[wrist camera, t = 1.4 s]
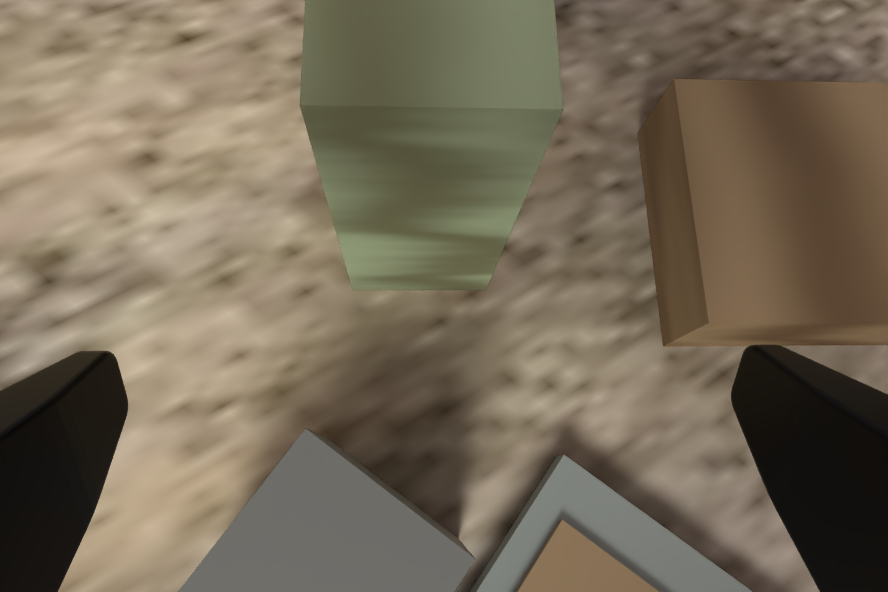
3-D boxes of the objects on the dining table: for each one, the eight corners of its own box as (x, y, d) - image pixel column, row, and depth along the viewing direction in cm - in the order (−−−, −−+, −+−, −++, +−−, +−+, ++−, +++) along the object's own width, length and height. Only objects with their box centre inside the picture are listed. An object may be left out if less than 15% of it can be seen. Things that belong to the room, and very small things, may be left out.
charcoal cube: (458, 538, 21) (475, 559, 16) (357, 689, 20) (339, 768, 14) (330, 440, 22) (305, 428, 16) (223, 579, 20) (159, 616, 15)
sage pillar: (480, 170, 25) (546, -95, 13) (485, 289, 23) (563, 109, 12) (355, 169, 24) (310, -104, 13) (352, 290, 23) (299, 104, 12)
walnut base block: (840, 140, 27) (913, 83, 23) (886, 346, 24) (976, 321, 20) (634, 137, 26) (673, 78, 22) (659, 348, 24) (709, 322, 20)
